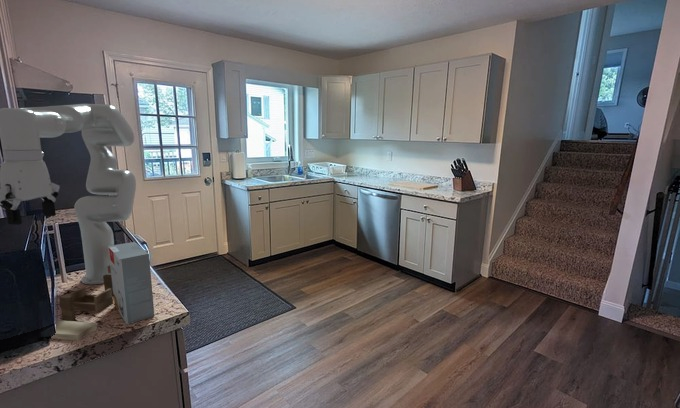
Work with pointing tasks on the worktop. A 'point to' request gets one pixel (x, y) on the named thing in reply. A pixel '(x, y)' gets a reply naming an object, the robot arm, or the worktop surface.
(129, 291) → the hard drive box
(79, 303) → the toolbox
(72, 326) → the lid
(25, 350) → the worktop surface
